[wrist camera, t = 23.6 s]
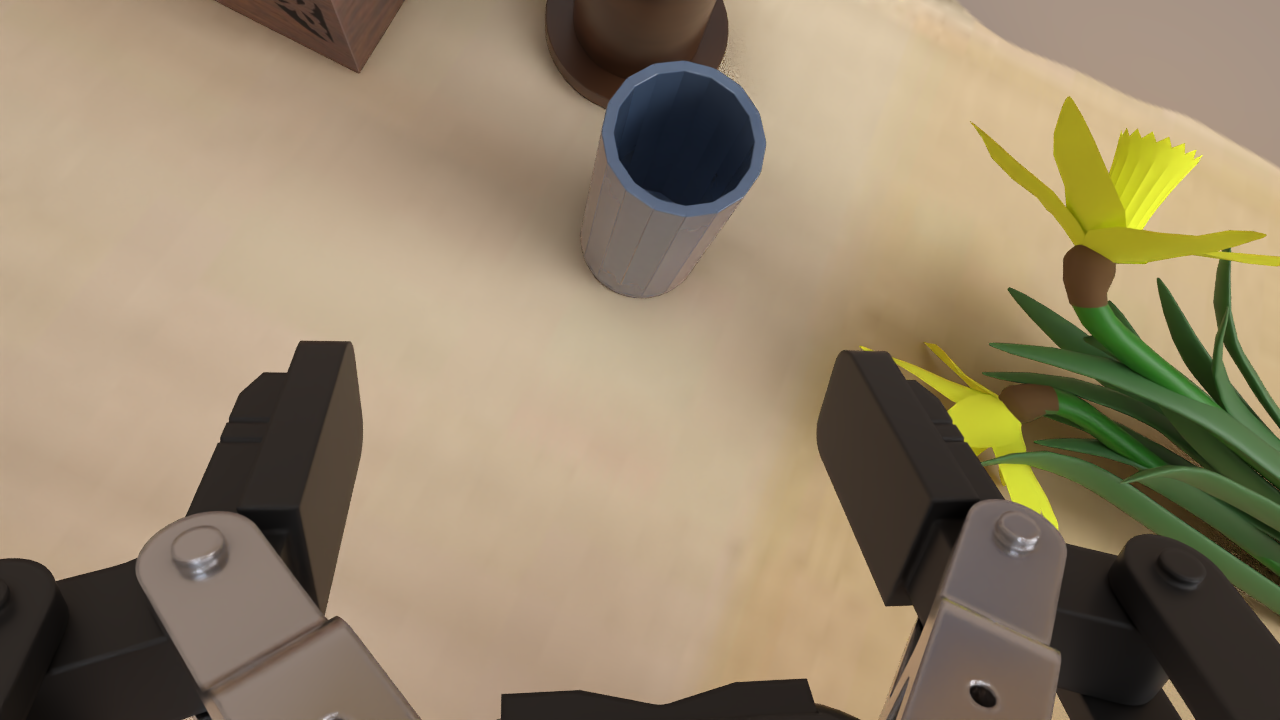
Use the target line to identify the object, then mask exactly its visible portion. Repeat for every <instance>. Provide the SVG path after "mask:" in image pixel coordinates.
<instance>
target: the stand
mask: <svg viewBox="0 0 1280 720" xmlns="http://www.w3.org/2000/svg"><path fill="white" fill-rule="evenodd" d="M545 33H546V40H547V44H548V48H549V51H550V54H551V56H552V59H553V61H554V63H555V65H556V66H557V68H558V70H559V71H560V73H561V74H562V75H563V77H564V78H565V79H566V81H567V82H568V83H569V84H570V85H571V86H572V87H573V88H574V89H575V90H576V91H578V92H579V93H580V94H581V95H583V96H584V97H585V98H587V99H589V100H590V101H592V102H593V103H595V104H597V105H599V106H602V107H604V108H606V109H607V104H608V102H609V100H610V99H611V98H612V96H613V95H614V94H615V92H616V91H617V90H618V89H619V87H620V86H621V85H622V83H623V82H624V81H625V79H627V78H628V77H630V76H632V75H633V74H635V73H637V72H639V71H641V70H643V69H644V68H646V67H648V66H650V65H652V64H655V63H663V62H672V61H682V60H684V61H690V62H693V63H697V64H701V65H705V66H709V67H712V68H715V69H717V70H718V68H719V66H720V64H721V61H722V59H723V57H724V54H725V50H726V47H727V41H728V19H727V13H726V9H725V6H724V3H723V0H547V3H546V13H545Z"/></svg>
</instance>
